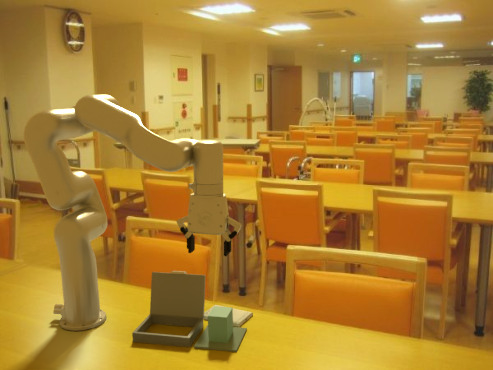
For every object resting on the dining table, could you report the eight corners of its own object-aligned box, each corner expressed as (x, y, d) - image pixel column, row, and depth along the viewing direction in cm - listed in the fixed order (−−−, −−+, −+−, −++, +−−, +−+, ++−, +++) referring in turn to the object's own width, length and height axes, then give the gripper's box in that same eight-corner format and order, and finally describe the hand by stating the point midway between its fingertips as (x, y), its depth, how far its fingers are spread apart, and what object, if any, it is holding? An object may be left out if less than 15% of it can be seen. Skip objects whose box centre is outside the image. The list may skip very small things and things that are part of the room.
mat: (194, 347, 129) (194, 346, 129) (207, 326, 140) (207, 324, 140) (236, 351, 126) (236, 350, 126) (246, 329, 138) (246, 328, 138)
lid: (151, 270, 144) (153, 269, 145) (149, 314, 143) (151, 313, 144) (204, 273, 140) (206, 272, 142) (202, 318, 139) (204, 317, 141)
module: (208, 341, 131) (207, 315, 130) (215, 330, 137) (214, 306, 135) (227, 343, 130) (226, 317, 128) (233, 332, 136) (232, 307, 134)
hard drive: (200, 314, 145) (239, 323, 139) (215, 304, 152) (252, 311, 147) (201, 320, 146) (239, 328, 140) (216, 309, 153) (252, 316, 147)
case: (132, 341, 132) (132, 332, 132) (150, 322, 144) (149, 313, 143) (189, 347, 129) (189, 338, 129) (203, 326, 140) (203, 317, 140)
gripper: (171, 190, 128) (172, 255, 132) (237, 193, 124) (237, 260, 128) (181, 184, 135) (183, 246, 139) (244, 188, 131) (244, 251, 135)
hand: (209, 253), depth 133 cm, fingers open, 9 cm apart
